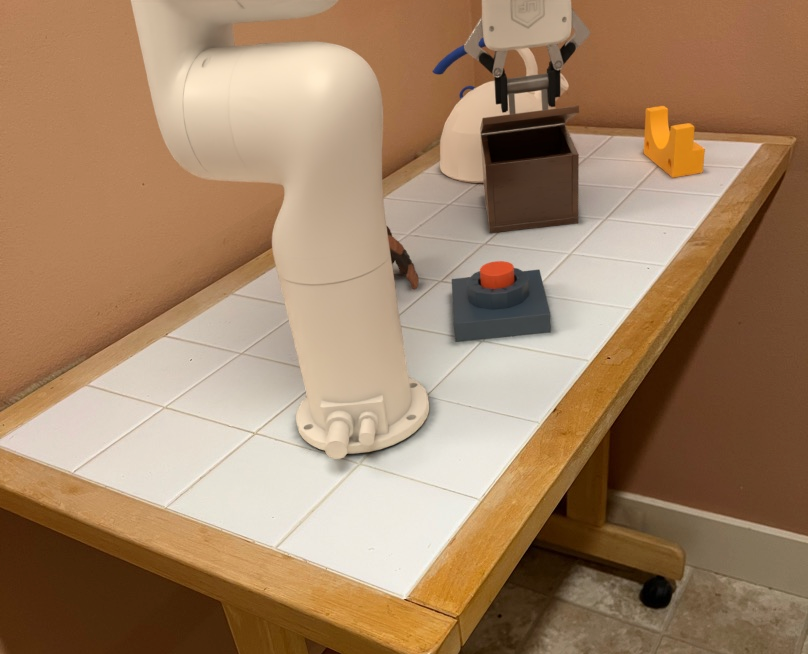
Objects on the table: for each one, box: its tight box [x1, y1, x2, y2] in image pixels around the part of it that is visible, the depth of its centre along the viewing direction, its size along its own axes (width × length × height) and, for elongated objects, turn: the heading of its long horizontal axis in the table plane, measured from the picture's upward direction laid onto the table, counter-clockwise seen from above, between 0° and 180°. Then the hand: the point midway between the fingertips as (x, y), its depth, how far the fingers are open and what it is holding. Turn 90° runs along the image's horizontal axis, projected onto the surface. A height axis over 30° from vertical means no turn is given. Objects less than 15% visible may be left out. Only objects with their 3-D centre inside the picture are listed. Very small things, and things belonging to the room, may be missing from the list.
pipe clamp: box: [643, 105, 706, 179], centre depth 117 cm, size 12×4×6 cm, turn 6°
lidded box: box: [481, 123, 580, 234], centre depth 109 cm, size 14×12×9 cm
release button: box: [479, 260, 515, 289], centre depth 87 cm, size 4×4×2 cm
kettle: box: [432, 37, 570, 184], centre depth 124 cm, size 20×21×18 cm
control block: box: [451, 267, 552, 343], centre depth 88 cm, size 11×10×4 cm
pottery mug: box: [386, 224, 419, 290], centre depth 98 cm, size 12×10×8 cm
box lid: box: [480, 72, 580, 134], centre depth 104 cm, size 14×12×5 cm
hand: (527, 105), depth 100 cm, fingers closed on box lid, 5 cm apart
